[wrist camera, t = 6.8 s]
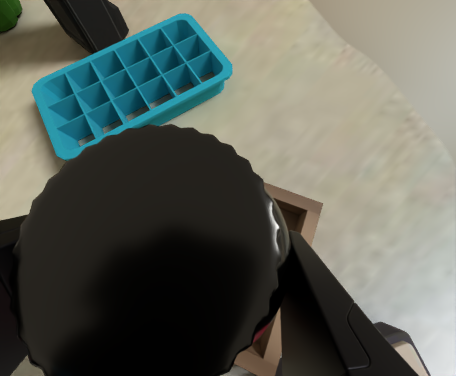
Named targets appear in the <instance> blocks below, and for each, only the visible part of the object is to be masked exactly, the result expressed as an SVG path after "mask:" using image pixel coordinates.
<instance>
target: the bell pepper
mask: <svg viewBox="0 0 456 376" xmlns="http://www.w3.org/2000/svg"><path fill="white" fill-rule="evenodd" d="M21 11H22V7H21V4H20V1H19V0H0V32H2V31H6V30H8V29H10V28H12V27H13V26H15V24H16V22H17V21H18V18H17V16H18V15H19V14H20V13H21Z"/></svg>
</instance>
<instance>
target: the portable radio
mask: <svg viewBox="0 0 456 376" xmlns="http://www.w3.org/2000/svg"><path fill="white" fill-rule="evenodd" d="M44 2H45V3H46V5H47V6H48V7H49V9H50V10H51V12H52V13H53V15H54V16H55V18H56V19H57V21H58V22H59V24H60V25H61V26H62V28H63V29H64V31H65V32H66V34H68V35H69V36H70V37H71V38H73V39H74V40H75V41H76V42H77V43H79V44H80V45H81V46H83V47H84V48H85V49H87V50H88V51H89V52H90V53H92V54H94V53H96V52H99V51H101V50H103V49H105V48H107V47H109V46H111V45H114V44H116V43H118V42H120V41H122V40H123V39H124V37H125V36H126V35H127V33H128V31H129V29H128V27H127V25H126V23H125V21H124V19H123V17H122V15H121V12H120V10H119V8H118V7H117V6H115V5H114V4H112V3H111V2H109V1H108V0H44Z"/></svg>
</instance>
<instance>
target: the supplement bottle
mask: <svg viewBox="0 0 456 376" xmlns="http://www.w3.org/2000/svg"><path fill="white" fill-rule="evenodd" d="M12 258H13V267H12V269H11V272H10V275H9V278H8V281H9V285H10V287H11V291H12V295H11V300H10V307H9V309H10V311H11V313H12V315H13V316H14V318H15V319H16V337H17V338H18V339H19V340H20V341H21V342H22V343H23V344H24V345H25V346H26V348H27V353H28V357H29V361H30V363H31V364H32V365H34V366H35V367H38V368H40V369H41V370H43V373H44V375H45V376H220V375H223V374H225V373H227V372H229V371H230V370H231V368H232V366H233V364H234V362H235V359H236V357H237V355H238V354H240V353H241V352H243V351H245V350H246V349H248V348H249V347H250V346H252V344H253V343H254V342H255V341H256V340H257V339H258V338H259V337H260V336H261V335H262V334H263V333H264V331H265V330H266V329H267V328H268V326H269V325H270V324H271V322H272V320H273V319H274V317H275V316H276V314H277V312H278V310H279V308H280V306H281V304H282V301H283V299H284V296H285V293H286V290H287V286H288V283H289V277H290V271H291V245H290V238H289V233H288V229H287V226H286V223H285V220H284V217H283V215H282V213H281V210H280V209H279V207H278V205H277V203H276V201H275V200H274V199H273V197H272V196H271V194H270V193H269V192H268V191H267V189H266V188H265V187H264V181H263V179H262V178H261V177H260V176H258V175H257V174H256V173H254V172H253V170H252V167H251V164H250V162H249V161H248V160H247V159H245V158H243V157H241V156H239V155H237V153H236V151H235V149H234V148H233V147H232V146H231V145H228V144H225V143H221V142H220V141H219V140H218V139H217V138H216V137H215V136H214V135H211V134H202V133H200V132H198V131H197V130H196V129H194V128H179V127H177V126H175V125H172V124H169V125H164V126H156V125H152V124H149V125H146V126H143V127H141V128H127V129H125V130H123V131H122V132H121V133H119V134H116V135H109V136H106V137H104V138H103V139H102V140H101V141H100V142H98V143H97V144H94V145H91V146H88V147H85V148H84V149H83V150H82V151H81V153H80V154H79V155H78V156H77V157H75V158H73V159H71V160H69V161H67V162H66V163H65V164H64V166H63V167H62V168H61V170H60V172H59V173H57V174H56V175H54V176H53V177H51V178H50V179H49V180H48V182H47V184H46V186H45V188H44V190H43V192H42V193H41V194H39V195H38V196H37V197H36V198H35V199H34V200H33V202H32V206H31V209H30V213H29V215H28V216H27V217H26V218H25V220H24V221H23V222H22V224H21V226H20V236H19V239H18V241H17V243H16V245H15V247H14V249H13V251H12Z"/></svg>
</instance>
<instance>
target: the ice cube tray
mask: <svg viewBox="0 0 456 376" xmlns="http://www.w3.org/2000/svg"><path fill="white" fill-rule="evenodd" d="M210 72H213V73H214V75H215V77H213V78H211V79H209V80H207V81H205V82H203V83H202V82H201V80H200V79H199V78H200V77H202V76H204V75H206V74H208V73H210ZM231 75H232V64H231V63H230V61H229V60H228V59H227V58H226V57H225V55H224V54H223V53H222V52H221V51H220V49H219V48H218V47H217V46H216V45H215V43H214V42H213V41H212V40H211V38H210V37H209V36H208V35H207V34H206V32H205V31H204V30H203V29H202V28H201V26H200V25H199V24H198V23H197V22H196V20H195V19H194V18H193V17H192V16H191V15H189V14H186V13H184V14H178V15H176V16H173V17H171V18H169V19H167V20H165V21H163V22H161V23H158V24H156V25H154V26H152V27H150V28H148V29H146V30H143V31H141V32H139V33H137V34H135V35H133V36H131V37H129V38H126V39H124V40H122V41H120V42H118V43H116V44H114V45H111V46H109V47H107V48H105V49H103V50H101V51H99V52H96V53H94V54H92V55H90V56H88V57H86V58H84V59H82V60H79V61H77V62H75V63H73V64H71V65H69V66H67V67H64V68H62V69H60V70H58V71H56V72H54V73H52V74H50V75H47V76H45V77H43V78H41V79H40V80H38V81H37V82H36V83H35V84H34V85H33V88H32V94H33V96H34V99H35V101H36V104H37V106H38V109H39V111H40V114H41V116H42V119H43V122H44V124H45V127H46V129H47V132H48V134H49V137H50V139H51V142H52V145H53V147H54V150H55V152H56V155H57V156H58V157H60V158H62V159H64V160H65V161H69V160H71V159H73V158H75V157H77V156H78V155H79V154H80V153H81V151H82V150H83V149H84V148H85V147H88V146H91V145H94V144H97V143H98V142H100V141H101V140H102V139H103V138H104V137H106V136H109V135H116V134H119V133H121V132H122V131H123V130H125V129H127V128H141V127H143V126H146V125H149V124H152V125H156V126H160V125H161V124H163V123H165V122H167V121H169V120H171V119H173V118H175V117H176V116H178V115H180V114H182V113H184V112H186V111H188V110H189V109H191V108H193V107H195V106H197V105H199V104H201V103H202V102H204V101H206V100H208V99H210V98H212V97H214V96H215V95H217V94H219V93H220V92H221V91H222V90H223V89H224V81H225V80H227V79H229V78H230V76H231ZM190 82H191V83H192V84H193V85H194V88H192V89H190V90H188V91H186V92H184V93H182V94H180V95H178V96H177V95H176V93H175V92H174V91H175V90H177V89H179V88H181V87H183V86H185V85H187V84H188V83H190ZM167 94H170V95H171V97H172V98H173V99H171V100H169V101H167V102H165V103H163V104H161V105H159V106H157V107H155V108H153V109H151V107H150V106H149V104H150V103H152V102H154V101H156V100H158V99H160V98H161V97H163V96H165V95H167ZM118 96H119V97H118ZM116 97H117V98H116ZM146 105H147V106H148V108H149V109H150V111H148V112H146V113H144V114H142V115H140V116H138V117H136V118H134V119H132V120H130V121H129V122H128V120H127V118H126V116H127V115H129V114H131V113H133V112H135V111H136V110H138V109H140V108H142V107H144V106H146ZM119 119H121V121H122V123H123V125H121V126H119V127H117V128H115V129H113V130H111V131H109V132H108V133H106V134H104V132H103V130H102V128H104V127H106V126H108V125H109V124H111V123H113V122H115V121H117V120H119ZM92 133H93V134H94V136H95V138H96V139H94V140H92V141H90V142H88V143H86V144H85V145H83V146H81V147H80V145H79V143H78V141H79V140H81V139H82V138H84V137H86V136H88V135H90V134H92Z"/></svg>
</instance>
